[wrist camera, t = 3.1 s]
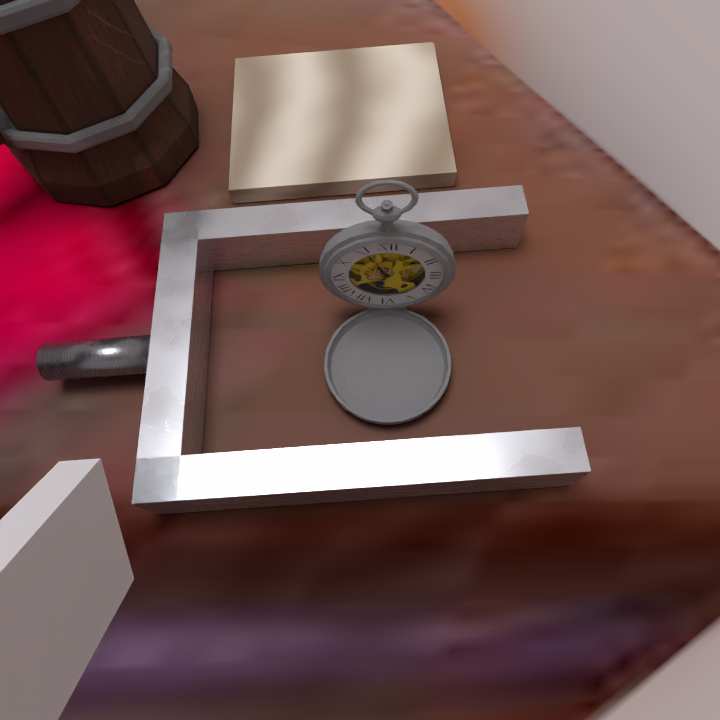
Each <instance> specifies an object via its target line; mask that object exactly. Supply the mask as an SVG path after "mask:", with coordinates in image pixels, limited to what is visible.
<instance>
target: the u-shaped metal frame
mask: <svg viewBox="0 0 720 720" xmlns="http://www.w3.org/2000/svg"><path fill="white" fill-rule="evenodd" d="M418 196H419V198H418V202H417V204H416V205H415V206H414V207H413V208H412V209H411V210H410V211H408V212H405V213H403V214H402V215H401V217H400V218H399V220H406V221H413V222H416V223H419V224H422V225H425V226H427V227H430V228H431V229H433V230H435V231H436V232H438V233H440V234H441V235H442V236H443V237H444V238H445V239H446V240H447V241H448V243H449V245H450V247H451V249H452V251H453V252H464V251H477V250H490V249H503V248H516V247H517V245H518V243H519V240H520V237H521V234H522V232H523V229H524V226H525V223H526V220H527V218H528V215H529V212H528V208H527V204H526V200H525V195H524V191H523V187H522V185H518V186H505V187H492V188H480V189H467V190H454V191H442V192H429V193H418ZM355 199H356V198H353V199H340V200H327V201H314V202H302V203H289V204H276V205H264V206H251V207H238V208H225V209H213V210H200V211H187V212H174V213H165V215H164V223H163V232H162V241H161V250H160V258H159V267H158V276H157V285H156V293H155V302H154V311H153V320H152V328H151V335H143V336H130V337H116V338H103V339H90V340H77V341H63V342H50V343H44V344H42V345H41V346H40V347H39V349H38V352H37V367H38V370H39V373H40V374H41V376H42V377H43V378H44V379H45V380H48V381H53V380H66V379H80V378H93V377H107V376H120V375H134V374H146V381H145V390H144V398H143V407H142V416H141V425H140V433H139V442H138V451H137V460H136V469H135V477H134V486H133V495H132V504H133V505H136V506H138V507H141V508H143V509H146V510H148V511H151V512H153V513H156V514H171V513H185V512H200V511H214V510H228V509H243V508H257V507H271V506H285V505H300V504H314V503H328V502H343V501H357V500H371V499H385V498H400V497H414V496H428V495H443V494H457V493H471V492H485V491H500V490H514V489H528V488H543V487H557V486H570V485H571V484H573V483H574V482H576V481H577V480H579V479H580V478H582V477H583V476H585V475H586V474H588V473H589V472H591V469H590V465H589V461H588V456H587V452H586V448H585V444H584V440H583V436H582V432H581V427H572V428H558V429H544V430H530V431H516V432H502V433H488V434H474V435H460V436H446V437H432V438H418V439H405V440H391V441H377V442H363V443H349V444H335V445H321V446H307V447H293V448H279V449H265V450H251V451H237V452H223V453H209V454H202V450H203V434H204V418H205V402H206V386H207V370H208V355H209V339H210V323H211V307H212V291H213V275H214V271H217V270H230V269H243V268H256V267H269V266H282V265H295V264H308V263H319V262H320V258H321V254H322V252H323V250H324V248H325V245H326V244H327V242H328V241H329V240H330V239H331V238H332V237H333V236H334V235H336V234H337V233H339V232H340V231H342V230H343V229H345V228H347V227H350V226H352V225H355V224H358V223H362V222H365V221H370V220H375V219H374V218H373V216H372V215H371V214H368V213H366V212H364V211H363V210H361V209H360V208H359V207H358V206H357V204H356V202H355ZM411 199H412V196H411V194H403V195H391V196H378V197H365V198H362V201H363V203H364V204H365V205H366V206H367V207H369V208H371V209H373V210H374V209H375V208H376V207H378V206H381V203H382V202H383V201H384V200H390V201H391V202H392V203H393V205H395V206H396V207H398V208H400V209H403V208H404V207H406V206H407V205H408V204H409V203H410V201H411Z"/></svg>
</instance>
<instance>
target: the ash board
mask: <svg viewBox="0 0 720 720" xmlns="http://www.w3.org/2000/svg"><path fill="white" fill-rule="evenodd" d="M456 174H457V170H456V165H455V159H454V153H453V148H452V142H451V137H450V131H449V125H448V120H447V114H446V109H445V103H444V97H443V92H442V86H441V81H440V75H439V69H438V64H437V58H436V52H435V47H434V42H428V43H416V44H404V45H392V46H380V47H368V48H356V49H343V50H331V51H319V52H307V53H295V54H283V55H271V56H259V57H247V58H236V59H235V78H234V97H233V116H232V135H231V153H230V172H229V193H230V195H231V198H232V201H233V203H245V202H258V201H271V200H283V199H296V198H309V197H321V196H334V195H347V194H357V192H358V190H360V189H361V188H362V187H363V186H365V185H367V184H369V183H371V182H374V181H379V180H397V181H402V182H404V183H406V184H408V185H410V186H412V187H413V188H414V189H423V188H436V187H448V186H455V180H456ZM398 190H406V189H404V188H402V187H398V186H393V185H382V186H376V187H374V188H372V189H370V190H368V191H366V193H372V192H385V191H398Z"/></svg>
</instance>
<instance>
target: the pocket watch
mask: <svg viewBox="0 0 720 720" xmlns="http://www.w3.org/2000/svg"><path fill="white" fill-rule="evenodd" d="M382 185H393V186H398V187H402V188H404V189H406V190H407V191H408V192H409V193H410V194H411V196H412V199H411V201H410V203H409V204H408V205H407V206H406V207H404V208H403V209H400V208H398V207H396V206H395V205H393V203H392V202H391V201H390V200H384V201H383V202H382V203H381V206H378V207H376V208H375V209H374V210H373V209H371V208H369V207H367V206H366V205H365V204H364V203H363V201H362V196H363V195H364V194H365V193H366V191H368V190H370V189H372V188H374V187H376V186H382ZM418 198H419V196H418V193H417V191H416V190H415V189H414V188H413V187H412V186H410V185H408V184H406V183H404V182H402V181H397V180H379V181H374V182H371V183H369V184H367V185H365V186H363V187H362V188H361V189H360V190H358V192H357V194H356V199H355V202H356V204H357V206H358V207H359V208H360V209H361V210H363V211H364V212H366V213H368V214H371V215H372V216H373V218H374V219H375V220H370V221H365V222H362V223H358V224H355V225H352V226H350V227H347V228H345V229H343V230H342V231H340V232H339V233H337V234H336V235H334V236H333V237H332V238H331V239H330V240H329V241H328V242H327V244H326V245H325V248H324V250H323V252H322V254H321V258H320V262H319V276H320V279H321V281H322V283H323V285H324V286H325V287H326V288H327V289H328V290H329V291H330V292H331V293H332V294H334V295H335V296H337V297H339V298H341V299H343V300H345V301H347V302H350V303H353V304H355V305H360V306H364V307H367V309H368V310H365V311H362V312H360V313H358V314H356V315H354V316H353V317H351V318H349V319H348V320H346V321H345V322H344V323H343V324H342V325H341V326H340V327H339V328H338V329H337V330H336V332H335V333H334V334H333V336H332V338H331V340H330V342H329V344H328V345H327V349H326V353H325V358H324V370H325V376H326V381H327V384H328V387H329V390H330V392H331V393H332V394H333V396H334V397H335V398H336V400H337V401H338V402H339V404H340V405H341V406H342V407H343V408H344V409H345V410H347V411H348V412H350V413H351V414H352V415H354V416H355V417H358V418H360V419H362V420H364V421H367V422H371V423H375V424H385V425H393V424H400V423H405V422H408V421H412V420H413V419H416V418H419V417H420V416H421V415H423V414H424V413H426V412H427V411H429V410H430V409H431V408H432V407H434V406H435V404H436V403H437V402H438V401H439V400H440V399H441V397H442V395H443V393H444V392H445V390H446V388H447V386H448V382H449V378H450V373H451V356H450V352H449V348H448V344H447V342H446V340H445V338H444V337H443V335H442V334H441V333H440V331H439V330H438V329H437V327H436V326H435V325H434V324H432V323H431V322H430V321H428V320H427V319H426V318H425V317H423V316H421V315H419V314H417V313H415V312H412V311H410V310H407V306H412V305H417V304H419V303H422V302H425V301H427V300H429V299H431V298H433V297H435V296H437V295H439V294H440V293H441V292H442V291H444V290H445V289H446V288H447V287H448V286H449V284H450V283H451V282H452V280H453V279H454V276H455V269H456V264H455V259H454V254H453V251H452V249H451V247H450V245H449V243H448V241H447V240H446V239H445V238H444V237H443V236H442V235H441V234H440V233H438V232H436V231H435V230H433V229H431V228H430V227H427V226H425V225H422V224H419V223H416V222H413V221H406V220H399V218H400V217H401V215H402V214H403V213H405V212H408V211H410V210H411V209H412V208H413V207H414V206H415V205H416V204H417V202H418ZM406 256H409V257H410V258H404V257H406ZM411 257H412V259H411ZM400 259H401V260H400ZM406 259H408V260H406ZM415 260H417V261H418V262H416V261H415ZM408 261H410V262H408ZM413 261H415V262H413ZM411 262H412V263H411ZM394 263H396V264H394ZM406 266H409V267H406ZM416 267H420V269H418V270H417V271H415V272H413V271H407V270H406V269H409V268H413V269H414V268H416ZM355 269H358V270H355ZM409 270H412V269H409ZM359 271H360V272H359ZM365 271H366V272H365ZM377 271H380V273H379V274H380V275H379V274H378V273H377ZM372 273H376V275H378V276H380V277H381V276H382V278H370V277H369V275H370V274H372ZM406 273H407V274H409V275H408V276H407V275H406ZM367 274H368V275H367ZM393 274H394V275H393ZM365 275H367V277H366V276H365ZM401 275H405V277H403V276H401Z"/></svg>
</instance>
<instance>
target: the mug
mask: <svg viewBox="0 0 720 720" xmlns="http://www.w3.org/2000/svg"><path fill="white" fill-rule="evenodd" d="M1 144H5V145H6V146H7V147H8V148H10V150H11V152H12V153H13V155H14V156H15V157H16V158H17V159H18V161H19V162H20V163H21V164H22V166H23V167H24V168H25V169H26V170H27V172H28V173H29V174H30V175H31V176H32V177H33V178H34V179H35V180H36V181H37V182H38V183H39V184H40V185H41V186H42V187H43V188H44V189H45V190H46V191H47V192H48V193H49V194H50V195H51V196H52V197H53V199H54V200H55V201H61V202H71V203H81V204H91V205H101V206H112V205H115V204H117V203H120V202H122V201H125V200H127V199H130V198H132V197H135V196H137V195H140V194H142V193H145V192H147V191H150V190H152V189H155V188H157V187H160V186H162V185H165V184H166V183H167V182H168V180H169V179H170V178H171V177H172V176H173V175H174V173H175V172H176V171H177V170H178V169H179V167H180V166H181V165H182V164H183V163H184V161H185V160H186V159H187V158H188V157H189V155H190V154H191V153H192V152H193V151H194V149H195V148H196V147H197V146H198V128H197V106H196V103H195V101H194V98H193V95H192V93H191V90H190V88H189V85H188V84H187V83H186V82H185V81H184V80H183V78H182V77H181V76H180V75H179V74H178V73H177V72H176V71H175V69H174V68H173V67H172V47H171V44H170V42H169V40H168V39H167V38H165V37H164V36H162V35H161V34H160V33H158V32H157V31H156V30H154V29H153V28H152V27H150V26H149V25H148V24H146V22H145V20H144V18H143V17H142V15H141V13H140V11H139V9H138V7H137V6H136V4H135V2H134V0H0V145H1Z"/></svg>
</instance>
